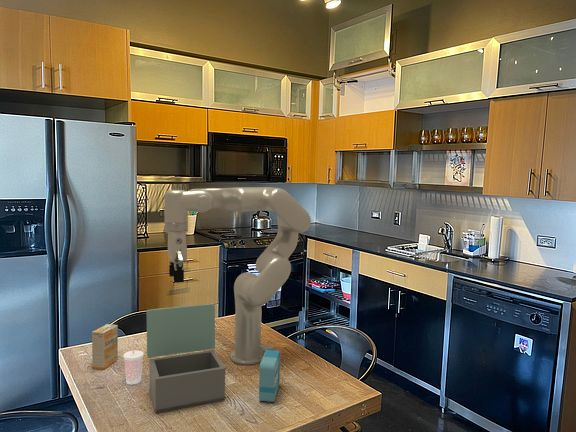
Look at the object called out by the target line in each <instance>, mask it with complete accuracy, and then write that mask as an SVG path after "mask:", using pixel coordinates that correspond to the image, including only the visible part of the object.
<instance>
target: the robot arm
mask: <svg viewBox="0 0 576 432" xmlns="http://www.w3.org/2000/svg"><path fill="white" fill-rule="evenodd" d="M163 200H164V211H163V212H164V233H167V257H168V259H169V265H168V268H169V269H168V270H169V272H168V274H169V277H173V283H174V284H175V283H184V282H185V268H184V263H187V261H188V253H187V252H188V247H187V244H188V243H187V233H188V231H189V212H193V213H206V212H208V211H209V210H222V211H223V210H224V211H230V212H238V213H240V212H258V211H259V212H262V211H263V212H264V211H265V212H266V211H267V212H268V211H270V212H274V213H275V214H276V216H277V218H276V221H277V234H276V236H275V238H274V239H273V240H272V242H270V244H269V245H268V246H267V247H266V248H265V249H264V251H263V252H261V254H260V255H259V257H257V259H256V262H255V269H256V271H257V272H258V273H259V274H255V273H253V272H243V273H240V274H239V275H238V276H237V278H236V279H235V281H234V284H233V293H234V294H233V295H234V305H235V307H234V309H235V315H234V316H235V318H234V322H235V324H234V350H233V351H232V352H231V353H230V356H229V357H230V360H231V361H232V362H234V363H235V364H239V365H255V364H258V363H259V364H260V363H261V360H262V358H263V356H264V354H265V351H266V350H274V346H273V345H271V344H270V345H268V344H267V343H265V344H262V343H261V341H262V339H261V338H262V309H263V308H262V306H265V305H266V304H267V303H268V302H269V301H270V300H272V298H273V297H274V296H275V295H276V293H278V291H279V290H280V289H281V288H282V286H283V285H284V284H285V283H286V281H287V280H288V279H289V276H290V275H291V271H292V265H291V262H290V260H289V258H290V256H291V255H292V254H293V253H294V251H295V249H296V247H297V245H298V241H299V234H303V233H305V232H306V231H308V229H309V228H310V226H311V223H312V221H311V216H310V214H309V212H308V211H307V210H306V209H305V208H304V207H303V206H302V205H301V204H300V203H299V202H298V201H297V200H296V199H295V198H294V197H293V196H292V195H291V194H290V193H289V192H288V191H286V190H285V189H284V188H280V187H272V186H271V187H270V186H267V187H265V186H264V187H263V186H261V187H260V186H257V187H253V186H252V187H251V186H250V187H249V186H247V187H225V188H224V187H223V188H222V187H221V188H192V189H188V190H183V189H169V190H166V191H165V192H164V199H163Z"/></svg>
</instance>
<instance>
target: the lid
mask: <svg viewBox="0 0 576 432" xmlns="http://www.w3.org/2000/svg"><path fill="white" fill-rule="evenodd" d="M215 306H216V304H215V303H204V304H194V305H185V306H176V307H175V306H174V307H173V306H172V307H165V308H164V307H163V308H154V309H147V310H146V358H148V359H149V358H150V359H152V358H159V357H166V356H170V355H171V356H173V355H180V354H187V353H194V352H202V351H209V350H214V349H216V318H215V317H216V316H215V315H216V314H215V313H216V309H215V308H216V307H215Z"/></svg>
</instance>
